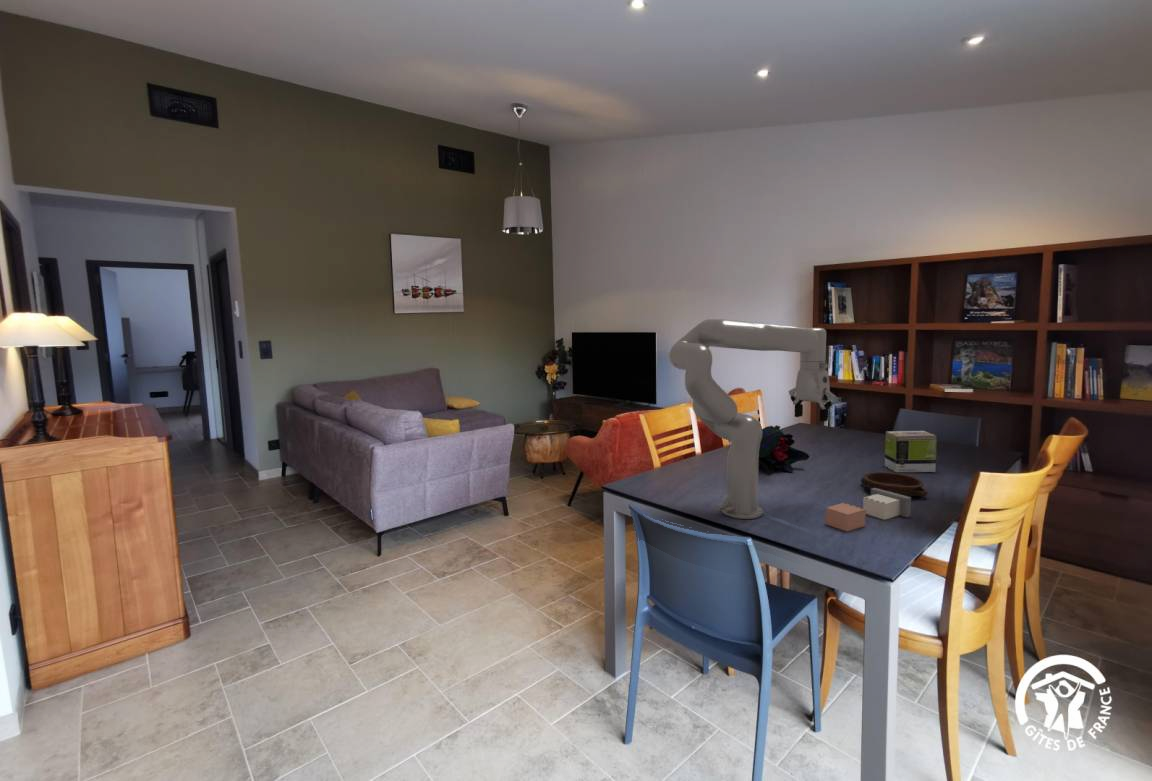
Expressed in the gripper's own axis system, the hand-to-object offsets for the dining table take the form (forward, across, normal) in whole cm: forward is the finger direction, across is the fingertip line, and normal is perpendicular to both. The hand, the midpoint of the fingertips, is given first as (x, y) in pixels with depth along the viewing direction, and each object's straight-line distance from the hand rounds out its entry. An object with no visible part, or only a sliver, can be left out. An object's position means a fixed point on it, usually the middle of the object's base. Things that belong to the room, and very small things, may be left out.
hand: (810, 418), depth 185 cm
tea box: (+29, +5, -65) cm, 71 cm away
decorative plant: (+29, +33, -22) cm, 49 cm away
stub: (+27, -21, +10) cm, 36 cm away
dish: (+29, -8, -33) cm, 45 cm away
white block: (+28, -21, -9) cm, 36 cm away
